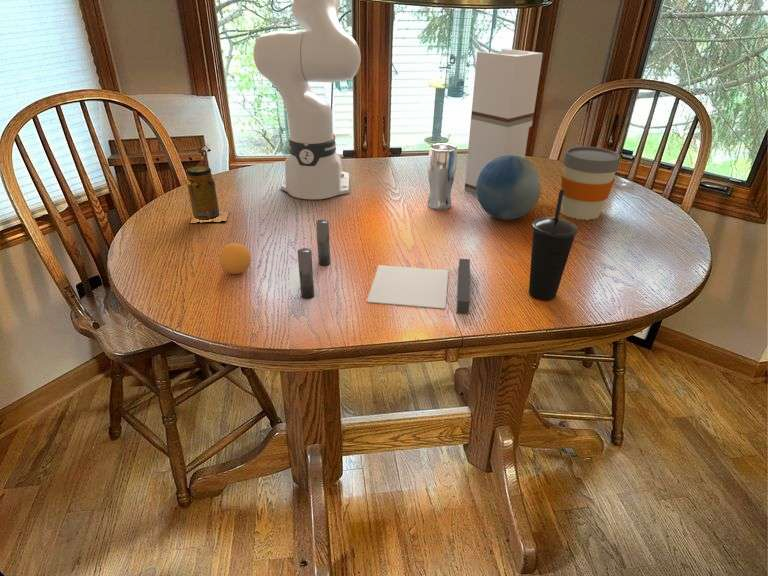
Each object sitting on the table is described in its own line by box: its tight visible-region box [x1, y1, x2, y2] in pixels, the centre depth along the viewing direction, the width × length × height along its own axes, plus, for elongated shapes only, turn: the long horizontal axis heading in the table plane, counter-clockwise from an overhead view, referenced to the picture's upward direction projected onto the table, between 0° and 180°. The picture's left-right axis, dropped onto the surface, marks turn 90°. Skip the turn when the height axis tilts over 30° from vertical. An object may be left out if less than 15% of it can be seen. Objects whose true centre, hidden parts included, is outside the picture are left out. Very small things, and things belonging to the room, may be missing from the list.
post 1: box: [297, 247, 315, 300], centre depth 94 cm, size 2×2×9 cm
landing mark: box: [366, 264, 449, 310], centre depth 99 cm, size 14×14×1 cm
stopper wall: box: [456, 258, 471, 315], centre depth 98 cm, size 16×2×2 cm, turn 172°
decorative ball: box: [475, 155, 542, 221], centre depth 125 cm, size 15×15×15 cm
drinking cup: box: [528, 189, 579, 302], centre depth 92 cm, size 8×8×20 cm
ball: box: [218, 242, 252, 275], centre depth 102 cm, size 6×6×6 cm
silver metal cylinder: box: [427, 143, 458, 211], centre depth 131 cm, size 7×7×15 cm
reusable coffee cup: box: [560, 146, 621, 221], centre depth 128 cm, size 13×13×15 cm
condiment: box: [186, 165, 220, 220], centre depth 124 cm, size 7×8×12 cm
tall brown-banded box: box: [463, 48, 544, 195], centre depth 136 cm, size 11×11×35 cm
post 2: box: [315, 219, 331, 267], centre depth 105 cm, size 2×2×9 cm
